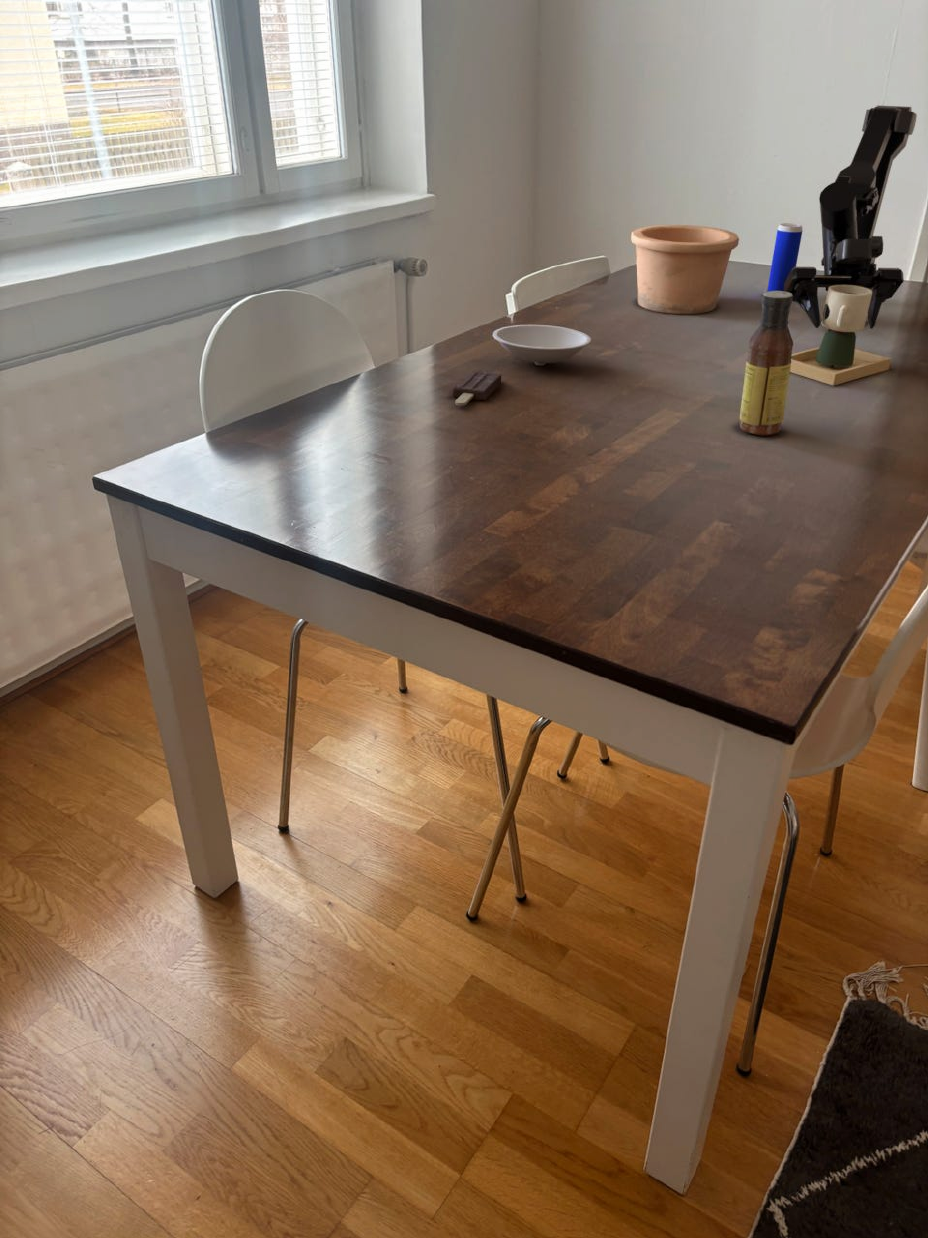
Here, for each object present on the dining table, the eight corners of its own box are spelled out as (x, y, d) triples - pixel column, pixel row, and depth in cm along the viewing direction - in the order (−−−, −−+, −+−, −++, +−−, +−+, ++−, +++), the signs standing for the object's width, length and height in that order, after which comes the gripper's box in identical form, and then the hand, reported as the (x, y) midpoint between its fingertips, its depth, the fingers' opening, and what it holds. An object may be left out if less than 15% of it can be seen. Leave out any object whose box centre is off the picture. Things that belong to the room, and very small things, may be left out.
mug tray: (777, 368, 168) (779, 356, 167) (833, 353, 176) (835, 342, 175) (833, 385, 160) (835, 374, 159) (888, 369, 168) (891, 358, 167)
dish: (478, 368, 167) (478, 340, 165) (510, 347, 178) (510, 320, 176) (573, 382, 161) (575, 353, 158) (600, 359, 172) (602, 331, 170)
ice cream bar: (474, 411, 149) (502, 382, 161) (474, 400, 148) (502, 372, 160) (443, 407, 151) (473, 378, 163) (443, 397, 150) (473, 369, 162)
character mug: (817, 353, 174) (833, 279, 167) (858, 359, 171) (876, 284, 164) (807, 370, 166) (823, 294, 158) (850, 377, 163) (868, 299, 156)
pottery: (652, 287, 219) (659, 220, 211) (744, 302, 208) (755, 232, 200) (607, 306, 204) (613, 235, 196) (703, 323, 193) (713, 248, 185)
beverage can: (787, 294, 214) (800, 223, 206) (792, 300, 210) (805, 227, 202) (764, 293, 214) (776, 222, 206) (768, 299, 210) (780, 226, 202)
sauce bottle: (781, 425, 145) (807, 290, 134) (779, 439, 140) (805, 300, 129) (737, 420, 146) (759, 286, 136) (733, 434, 141) (755, 296, 131)
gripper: (800, 216, 159) (804, 300, 156) (914, 217, 158) (921, 302, 155) (781, 255, 170) (784, 335, 166) (887, 257, 169) (893, 337, 166)
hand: (845, 327), depth 163 cm, fingers open, 9 cm apart
